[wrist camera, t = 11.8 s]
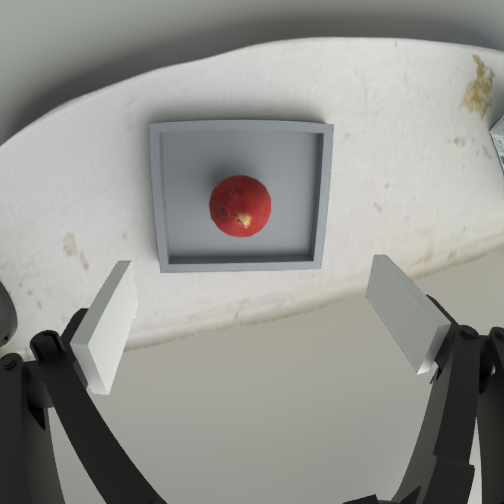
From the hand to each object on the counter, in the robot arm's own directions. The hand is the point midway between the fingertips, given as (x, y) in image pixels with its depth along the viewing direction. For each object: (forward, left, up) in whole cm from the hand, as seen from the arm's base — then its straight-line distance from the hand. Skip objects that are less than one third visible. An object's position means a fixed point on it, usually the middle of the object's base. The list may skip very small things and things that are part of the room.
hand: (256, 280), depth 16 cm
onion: (0, 0, -18) cm, 18 cm away
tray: (0, 0, -19) cm, 19 cm away
